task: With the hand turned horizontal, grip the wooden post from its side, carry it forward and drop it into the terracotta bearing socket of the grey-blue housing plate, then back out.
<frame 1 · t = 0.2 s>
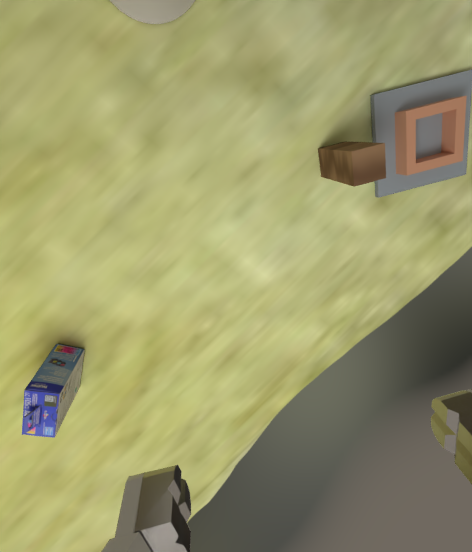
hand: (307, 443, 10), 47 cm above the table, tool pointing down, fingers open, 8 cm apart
housing: (419, 137, 54), on the table
ink cartridge box: (67, 365, 63), on the table
wooden post: (332, 159, 54), on the table
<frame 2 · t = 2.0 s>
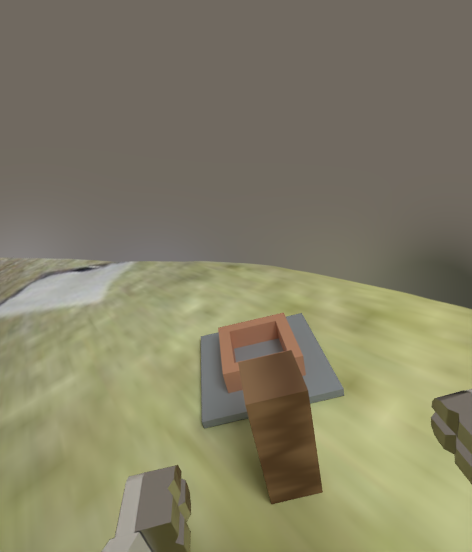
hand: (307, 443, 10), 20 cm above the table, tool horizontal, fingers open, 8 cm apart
housing: (261, 364, 43), on the table
wooden post: (290, 472, 30), on the table
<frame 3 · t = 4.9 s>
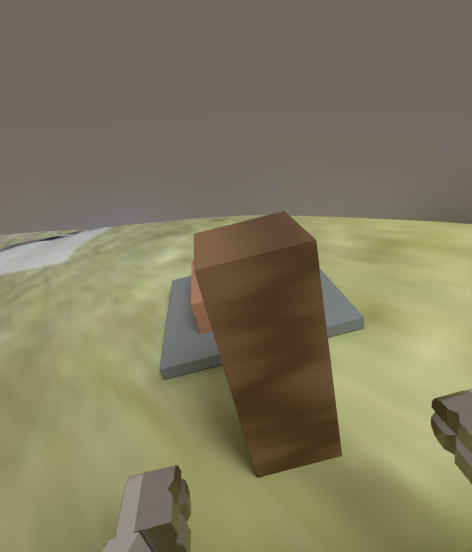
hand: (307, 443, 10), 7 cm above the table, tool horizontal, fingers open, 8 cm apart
housing: (248, 303, 32), on the table
wooden post: (288, 429, 19), on the table
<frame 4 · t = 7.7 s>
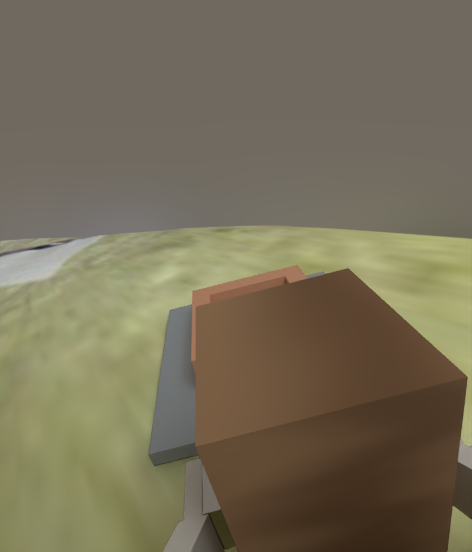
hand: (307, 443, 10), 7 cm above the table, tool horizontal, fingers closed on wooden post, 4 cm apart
housing: (263, 346, 26), on the table
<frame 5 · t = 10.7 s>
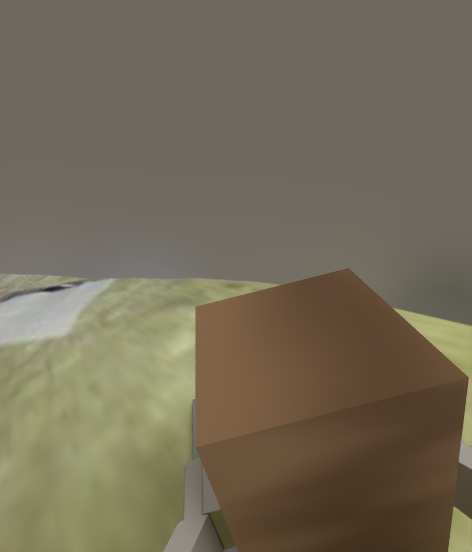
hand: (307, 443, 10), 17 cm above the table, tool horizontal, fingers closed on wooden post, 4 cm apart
when the fingers open (9 cm above the table, at t = 14.2 s): wooden post drops 1 cm, resting on housing.
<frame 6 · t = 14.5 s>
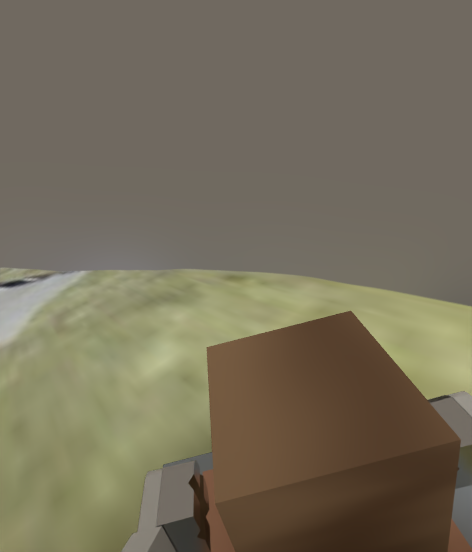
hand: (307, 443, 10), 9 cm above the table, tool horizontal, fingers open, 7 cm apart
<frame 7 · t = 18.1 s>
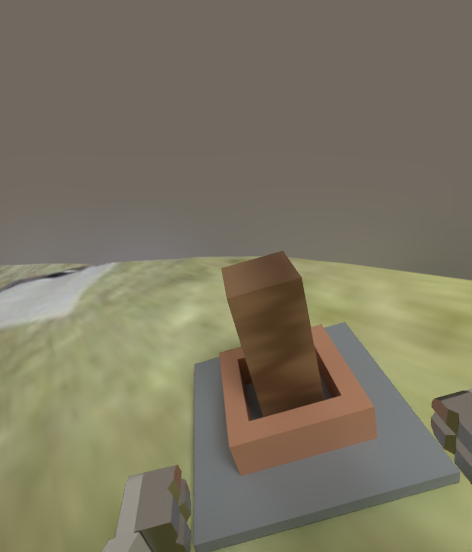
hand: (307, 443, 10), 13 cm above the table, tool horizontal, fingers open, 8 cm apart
housing: (292, 411, 26), on the table
wooden post: (290, 403, 26), point 1 cm above the table, touching housing
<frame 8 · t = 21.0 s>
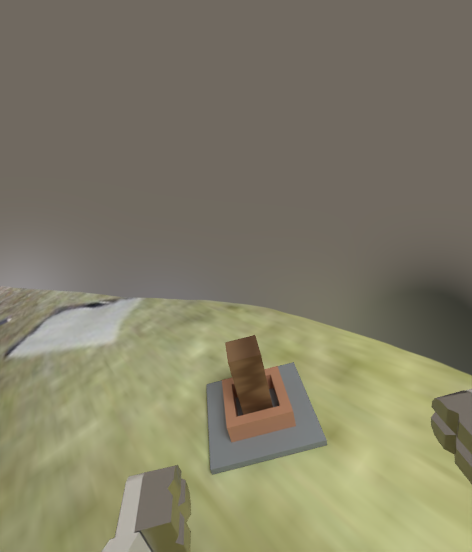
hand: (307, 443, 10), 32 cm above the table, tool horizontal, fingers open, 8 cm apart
housing: (259, 412, 51), on the table
wooden post: (258, 408, 50), point 1 cm above the table, touching housing
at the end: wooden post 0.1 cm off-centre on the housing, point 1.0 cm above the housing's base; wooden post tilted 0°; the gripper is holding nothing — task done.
